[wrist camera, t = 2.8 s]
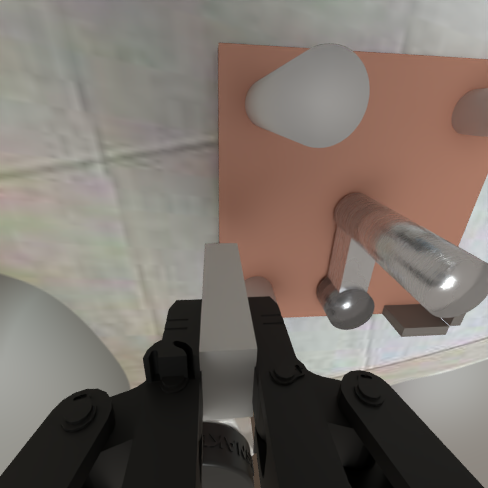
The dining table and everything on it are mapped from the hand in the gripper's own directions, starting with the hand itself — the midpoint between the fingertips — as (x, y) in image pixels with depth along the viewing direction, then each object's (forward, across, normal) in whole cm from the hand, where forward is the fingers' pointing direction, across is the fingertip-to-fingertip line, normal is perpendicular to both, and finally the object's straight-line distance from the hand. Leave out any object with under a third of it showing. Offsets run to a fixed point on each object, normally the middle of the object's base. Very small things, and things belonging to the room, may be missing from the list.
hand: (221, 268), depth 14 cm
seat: (+10, +10, 0) cm, 14 cm away
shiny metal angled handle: (+7, +10, -3) cm, 13 cm away
